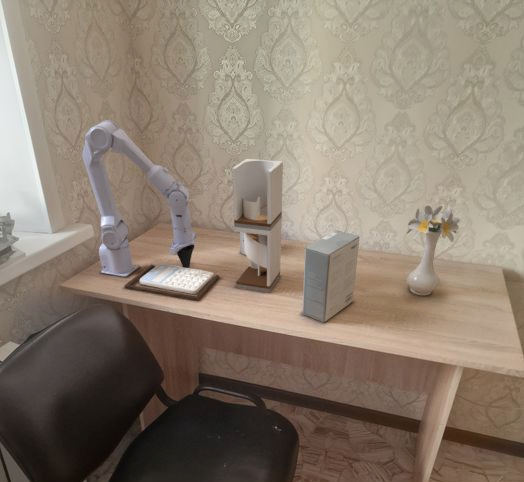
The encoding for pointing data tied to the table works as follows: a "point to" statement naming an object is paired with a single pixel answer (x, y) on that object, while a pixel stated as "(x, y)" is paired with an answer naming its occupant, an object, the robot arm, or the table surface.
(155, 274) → the calculator
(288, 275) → the table surface
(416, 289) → the flower vase
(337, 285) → the hard drive box
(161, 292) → the tray
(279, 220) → the white shelf tower
